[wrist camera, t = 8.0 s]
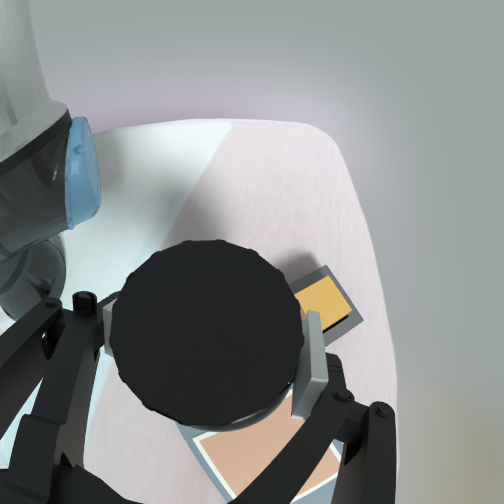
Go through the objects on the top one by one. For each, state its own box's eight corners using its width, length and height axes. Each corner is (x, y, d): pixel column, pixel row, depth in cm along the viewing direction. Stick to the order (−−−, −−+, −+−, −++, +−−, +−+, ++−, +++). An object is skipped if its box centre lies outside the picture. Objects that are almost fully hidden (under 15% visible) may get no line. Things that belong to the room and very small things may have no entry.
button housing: (265, 304, 36) (268, 295, 33) (319, 275, 39) (326, 264, 36) (300, 361, 33) (307, 358, 30) (353, 326, 35) (363, 320, 32)
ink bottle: (278, 428, 17) (332, 467, 6) (159, 418, 17) (72, 436, 6) (280, 307, 22) (322, 215, 11) (171, 300, 21) (119, 205, 11)
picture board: (172, 412, 28) (170, 413, 27) (284, 357, 33) (286, 356, 32) (258, 536, 20) (259, 540, 18) (362, 479, 24) (366, 481, 23)
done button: (287, 305, 34) (293, 294, 31) (319, 287, 36) (328, 275, 32) (308, 339, 32) (317, 332, 29) (340, 319, 34) (352, 310, 30)
